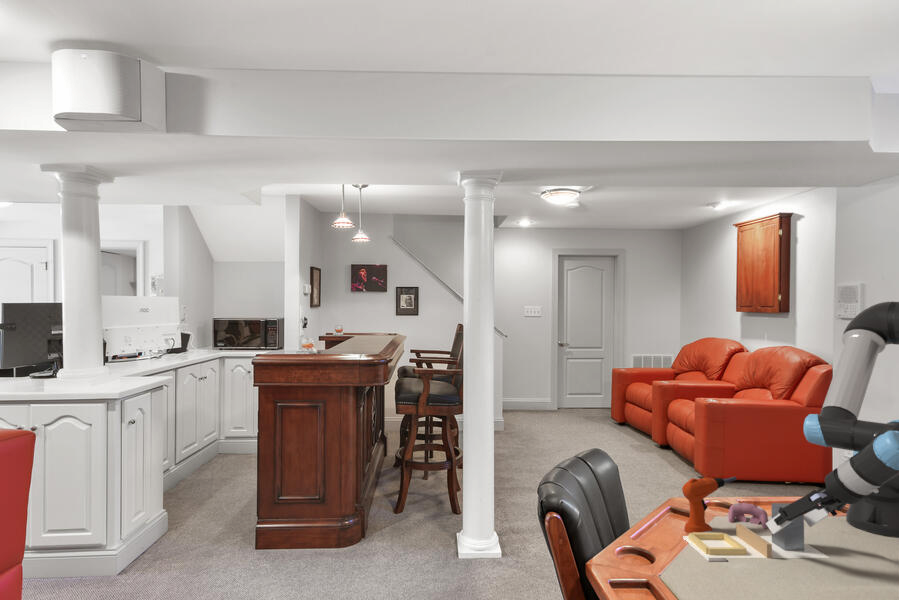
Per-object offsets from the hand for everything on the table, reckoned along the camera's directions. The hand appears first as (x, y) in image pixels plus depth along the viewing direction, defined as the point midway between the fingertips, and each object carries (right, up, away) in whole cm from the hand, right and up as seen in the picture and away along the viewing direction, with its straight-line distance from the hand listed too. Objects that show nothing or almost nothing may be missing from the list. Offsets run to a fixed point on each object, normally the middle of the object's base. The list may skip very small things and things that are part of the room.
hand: (788, 525), depth 134 cm
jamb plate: (-9, -7, +1) cm, 11 cm away
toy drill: (-13, -7, +14) cm, 20 cm away
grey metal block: (0, -6, +1) cm, 6 cm away
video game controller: (-1, -8, +17) cm, 19 cm away
